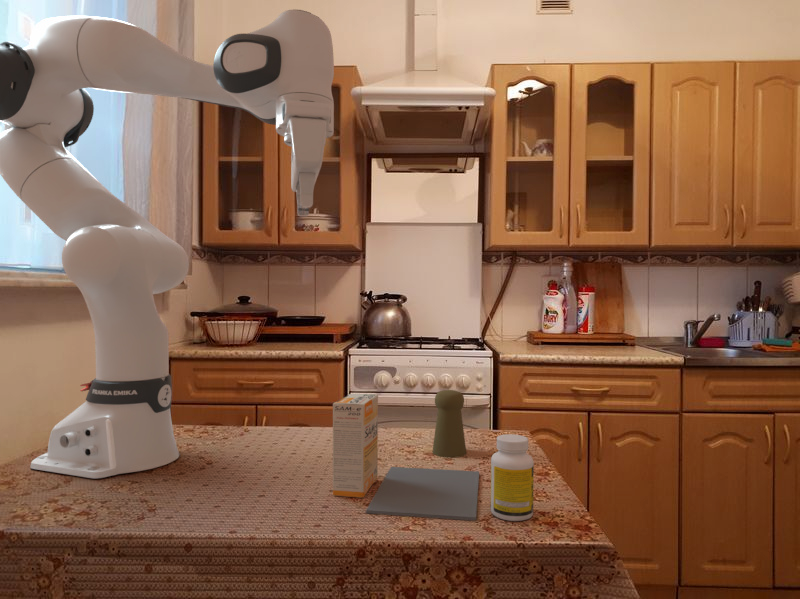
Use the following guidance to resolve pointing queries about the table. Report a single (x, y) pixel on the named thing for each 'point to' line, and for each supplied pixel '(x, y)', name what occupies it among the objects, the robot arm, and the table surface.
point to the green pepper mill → (449, 425)
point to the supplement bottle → (512, 479)
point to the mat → (427, 493)
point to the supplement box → (355, 444)
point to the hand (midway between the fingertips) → (304, 211)
